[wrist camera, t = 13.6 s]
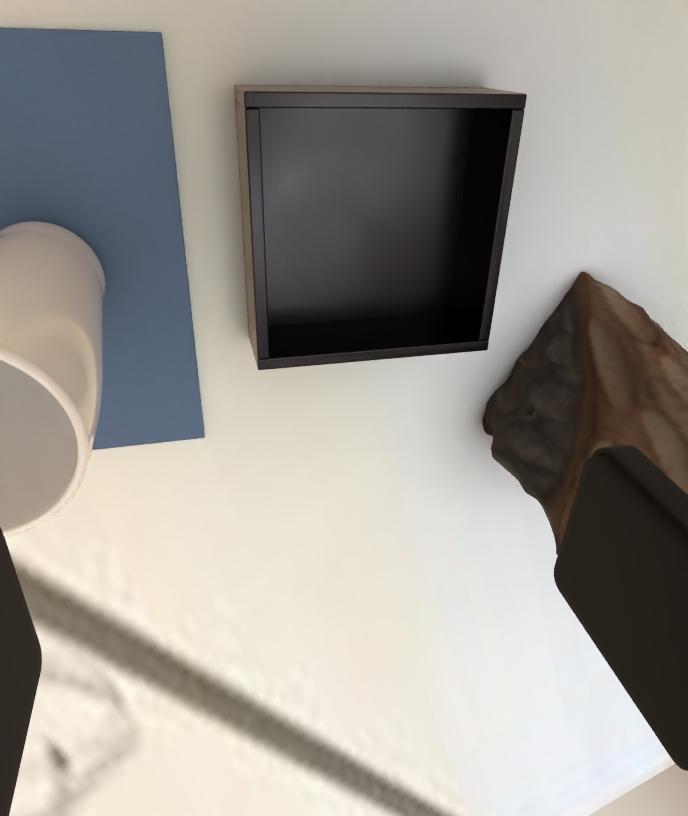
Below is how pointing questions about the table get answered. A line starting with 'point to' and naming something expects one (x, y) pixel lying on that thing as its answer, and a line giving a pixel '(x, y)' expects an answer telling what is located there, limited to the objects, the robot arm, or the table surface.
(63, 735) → the table surface
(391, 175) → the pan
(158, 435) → the cloth
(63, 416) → the drinking glass
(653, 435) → the brown craggy rock
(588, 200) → the table surface
